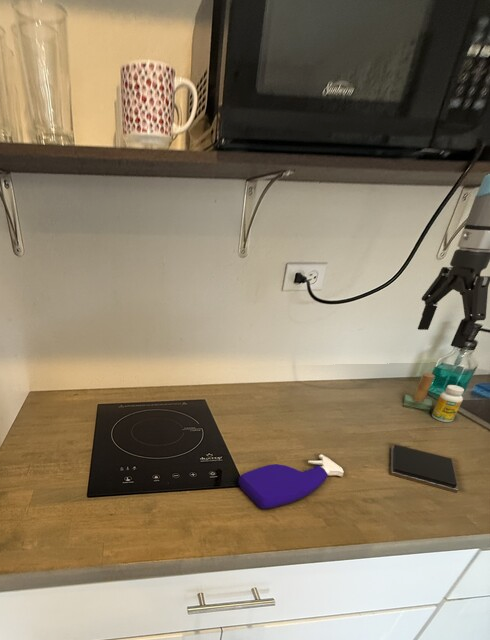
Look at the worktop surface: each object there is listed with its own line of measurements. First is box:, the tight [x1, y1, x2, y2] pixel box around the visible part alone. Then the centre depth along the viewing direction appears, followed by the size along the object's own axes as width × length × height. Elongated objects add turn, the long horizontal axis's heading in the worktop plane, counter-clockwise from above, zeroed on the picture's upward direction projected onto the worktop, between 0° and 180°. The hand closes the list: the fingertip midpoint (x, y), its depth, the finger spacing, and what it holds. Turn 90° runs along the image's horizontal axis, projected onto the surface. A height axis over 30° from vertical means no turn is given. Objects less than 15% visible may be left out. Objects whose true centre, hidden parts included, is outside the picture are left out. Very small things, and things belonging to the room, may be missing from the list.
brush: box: [402, 372, 435, 414], centre depth 114 cm, size 7×4×10 cm, turn 63°
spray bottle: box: [238, 453, 344, 510], centre depth 84 cm, size 3×11×24 cm
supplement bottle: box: [431, 384, 465, 423], centre depth 109 cm, size 5×5×10 cm
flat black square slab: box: [389, 444, 459, 494], centre depth 90 cm, size 13×12×2 cm
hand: (438, 337), depth 103 cm, fingers open, 13 cm apart
